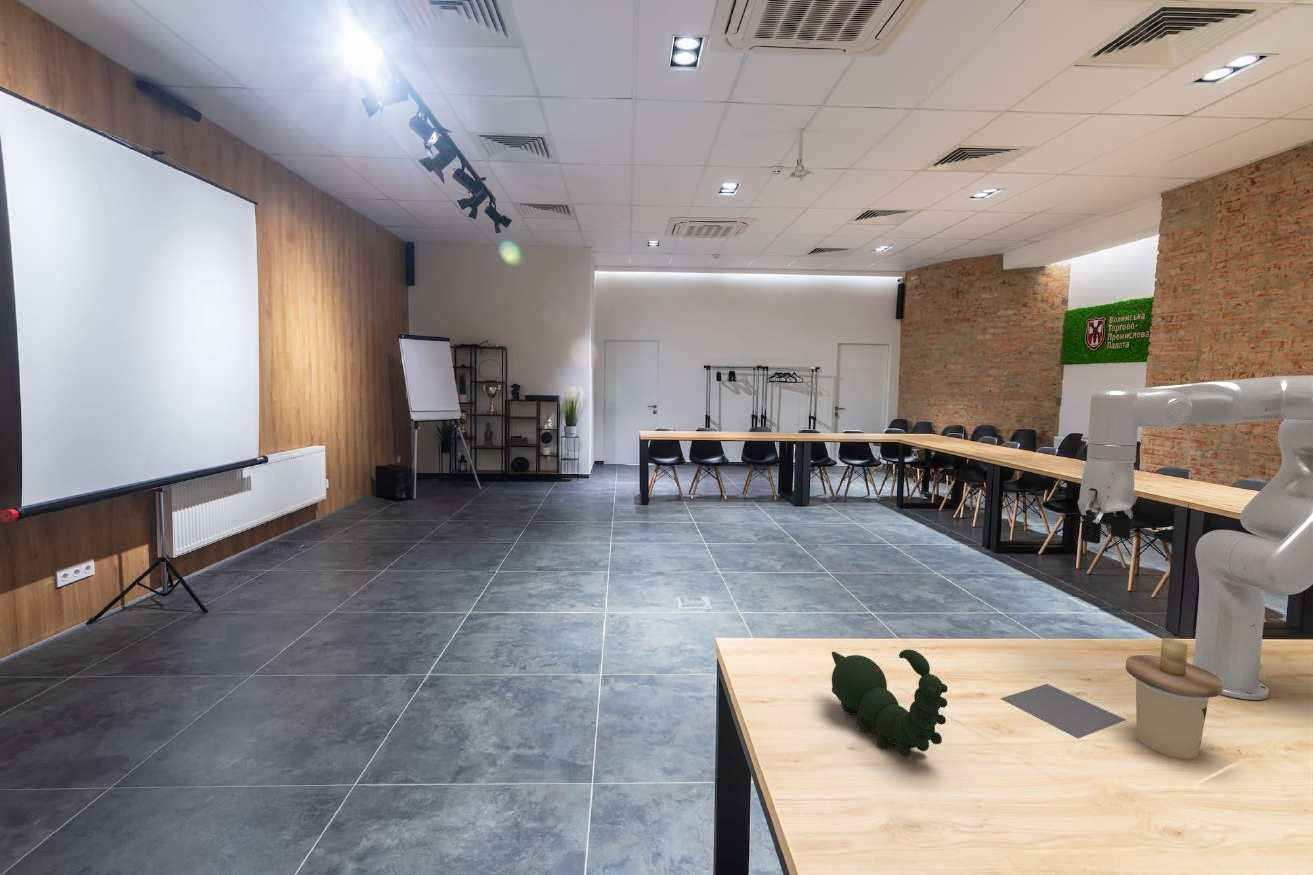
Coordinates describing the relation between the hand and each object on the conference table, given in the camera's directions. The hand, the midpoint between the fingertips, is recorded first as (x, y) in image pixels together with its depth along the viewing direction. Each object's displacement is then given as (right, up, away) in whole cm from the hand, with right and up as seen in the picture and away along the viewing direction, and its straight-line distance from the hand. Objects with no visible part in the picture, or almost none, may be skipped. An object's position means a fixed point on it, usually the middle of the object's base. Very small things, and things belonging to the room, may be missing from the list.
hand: (1105, 539), depth 115 cm
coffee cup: (-3, -32, -18) cm, 37 cm away
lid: (-3, -20, -18) cm, 27 cm away
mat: (-13, -31, -7) cm, 34 cm away
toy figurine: (-50, -32, -13) cm, 61 cm away
